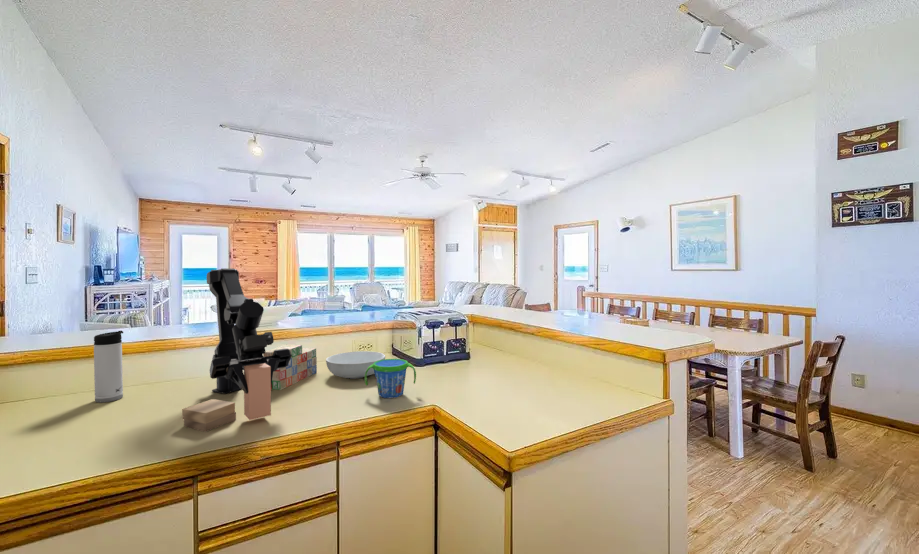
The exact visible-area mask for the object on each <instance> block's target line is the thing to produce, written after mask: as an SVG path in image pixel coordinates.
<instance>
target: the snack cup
mask: <svg viewBox="0 0 919 554" xmlns="http://www.w3.org/2000/svg"><path fill="white" fill-rule="evenodd" d="M370 368H373V369H374V376H375V381H376V388H377V394H378V396H380V397H381V398H384V399H392V398H398V397H401V396H402V395H404V390H405V383H406V375H407V373H406V372H407V370H408V369H407V368H411V369H412V370H413V385H415V384H416V380H417V371H416V368H415V366H413V364H411V363H410V362H409V361H408V360H405V359H402V358H385V359H384V360H379V361H376V362H374V363H373V364H372V365H371V366H369V367H368V369H367V370H366V373H365V377H364V384H365V386H368V385H369V382H368V376H367V372H368V370H369V369H370Z"/></svg>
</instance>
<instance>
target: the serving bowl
mask: <svg viewBox="0 0 919 554" xmlns="http://www.w3.org/2000/svg"><path fill="white" fill-rule="evenodd" d="M384 359H386V355H385V354H384V353H382V352H379V351H369V350H360V351H347V352H342V353H336V354H332V355H331V356H330V355H329V356H328V357H326V358H325V364H326V366H327V369H328V371H329V372H330V373H331V374H332V375H334V376H336V377H339V378H344V379H349V378H350V380H351V379H352V380H354V379H356V378H357V379H362V378H363V377H364V378H365V373H366V370H367V369H368V367H369V366H371V365H372V364H373V363H374V362H376V361H379V360H384ZM371 375H375V373H374V369H373V368H370V369H369V370H368V372H367V377H369V376H371ZM364 378H363V379H364ZM357 379H356V380H357Z"/></svg>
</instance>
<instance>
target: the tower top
mask: <svg viewBox="0 0 919 554" xmlns="http://www.w3.org/2000/svg"><path fill="white" fill-rule="evenodd" d="M235 412H236V403H235V402H231V401H227V400H221V399H215V398H211V399H209V400H206V401H205V400H204V401H203V402H199V403H197V404H193V405H190V406H187V407H183V408H181V414H182V415H181V419H182V420H183V421H184V420H189V421H194V422H199V423H205V424H206V423H209V422H211V421H214V420H217V419H219V418H222V417H224V416H227V415H229V414H232V413H235Z"/></svg>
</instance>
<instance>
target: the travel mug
mask: <svg viewBox="0 0 919 554" xmlns="http://www.w3.org/2000/svg"><path fill="white" fill-rule="evenodd" d="M122 334H124V331H123V330H118V331H111V332H105V333H104V332H103V333H100V334H96V335H95V336H94V337H93V369H94V373H93V374H94V375H93V376H94V380H93V381H94V402H95V403H110V402H114V401H118V400H120V399H122V398H123V397H124V393H123V391H124V389H123V388H124V387H123V386H124V385H123V384H124V382H123V381H124V379H123V378H124V377H123V345H122V343H123V342H122V341H123V340H122V338H123V337H122Z"/></svg>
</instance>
